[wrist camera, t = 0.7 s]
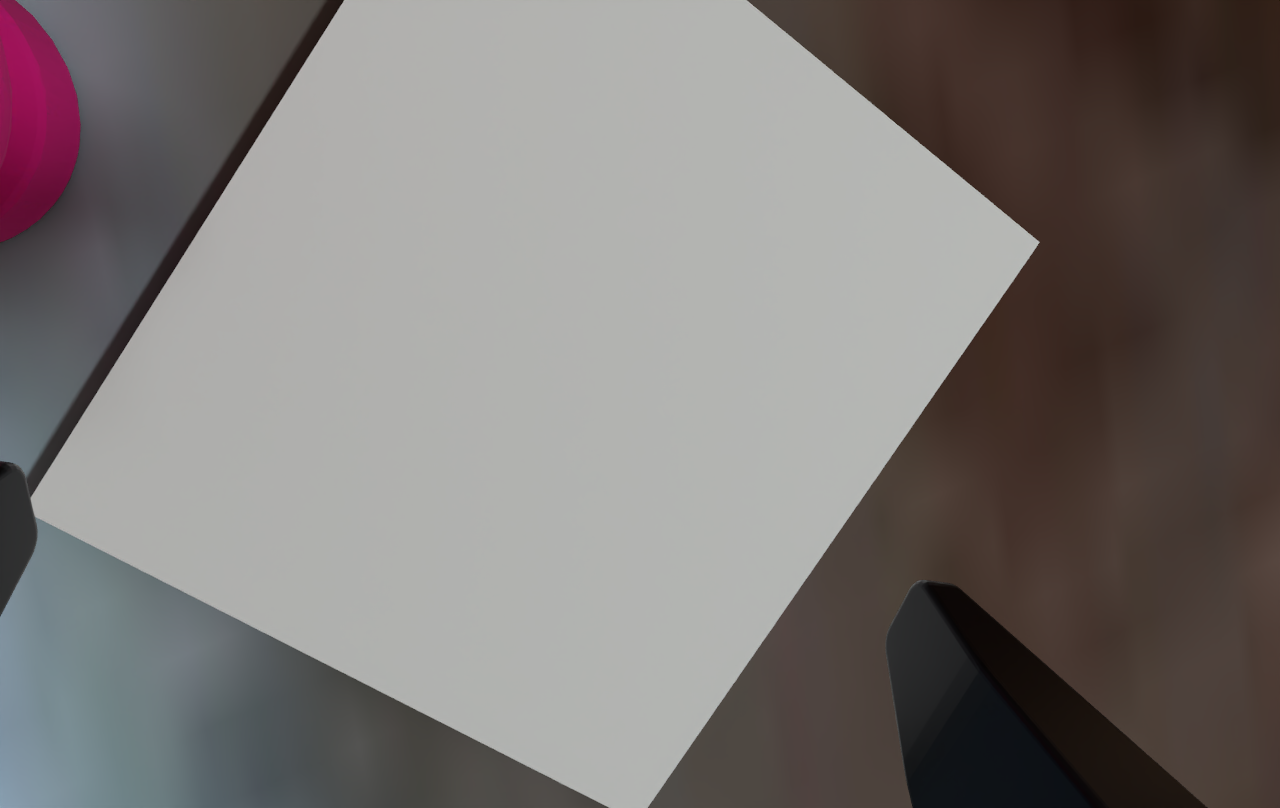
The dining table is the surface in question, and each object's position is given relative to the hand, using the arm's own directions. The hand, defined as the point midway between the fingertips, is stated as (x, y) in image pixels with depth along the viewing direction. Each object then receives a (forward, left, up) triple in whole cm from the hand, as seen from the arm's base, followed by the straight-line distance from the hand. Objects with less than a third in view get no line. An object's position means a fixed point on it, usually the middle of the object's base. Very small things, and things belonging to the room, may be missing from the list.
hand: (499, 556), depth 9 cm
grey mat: (+1, -1, -13) cm, 14 cm away
